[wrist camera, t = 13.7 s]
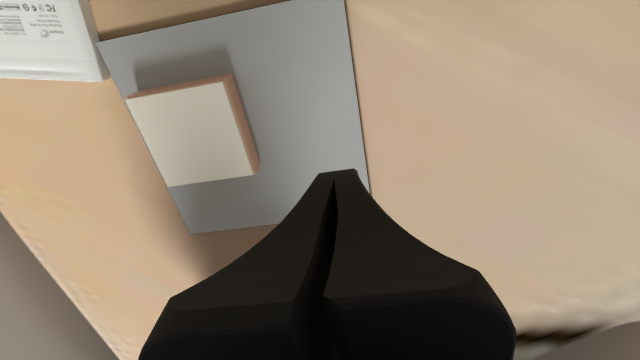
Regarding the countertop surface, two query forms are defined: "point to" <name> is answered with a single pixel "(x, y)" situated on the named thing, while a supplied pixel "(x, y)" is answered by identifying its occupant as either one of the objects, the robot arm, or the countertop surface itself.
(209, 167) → the tile
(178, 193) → the mat
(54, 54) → the external hard drive
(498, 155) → the countertop surface
